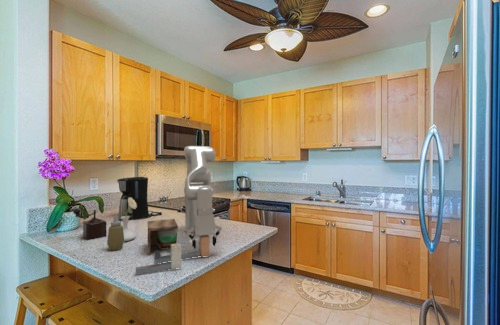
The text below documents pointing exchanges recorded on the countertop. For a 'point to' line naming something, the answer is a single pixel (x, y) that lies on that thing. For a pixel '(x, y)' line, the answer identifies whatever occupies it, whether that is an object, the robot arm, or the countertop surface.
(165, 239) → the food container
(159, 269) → the l-shaped tool
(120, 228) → the squeeze bottle
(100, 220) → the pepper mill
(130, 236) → the flower in vase
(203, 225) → the robot arm
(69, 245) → the countertop surface
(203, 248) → the crook tool
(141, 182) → the coffee maker
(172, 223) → the walnut cubby
